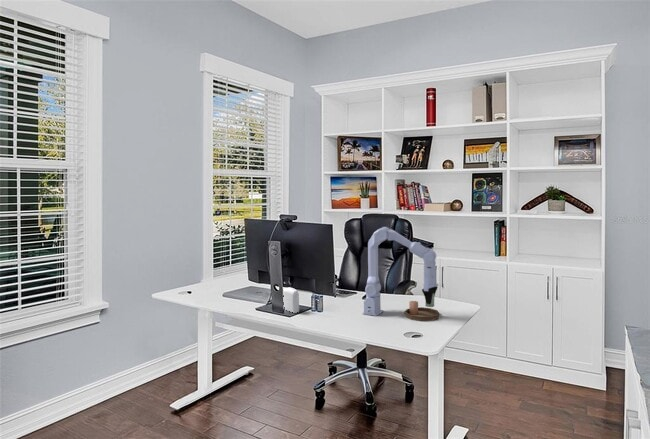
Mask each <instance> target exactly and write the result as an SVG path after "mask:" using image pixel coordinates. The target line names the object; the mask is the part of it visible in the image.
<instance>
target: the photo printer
mask: <svg viewBox="0 0 650 439" xmlns="http://www.w3.org/2000/svg"><path fill="white" fill-rule="evenodd" d="M283 295H284V297H282V298H283V300H282V302H284V305H283V308H284V307H285V310H284V311H286V310H287V311H286V312H289V311H290V313H292V312H293V313H292V314H298V313H299V312H300V294H299V291H298V290H297V289H295V288H293V287H289V286H288V287H284V288H283V291H282V296H283ZM297 312H298V313H297Z"/></svg>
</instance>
